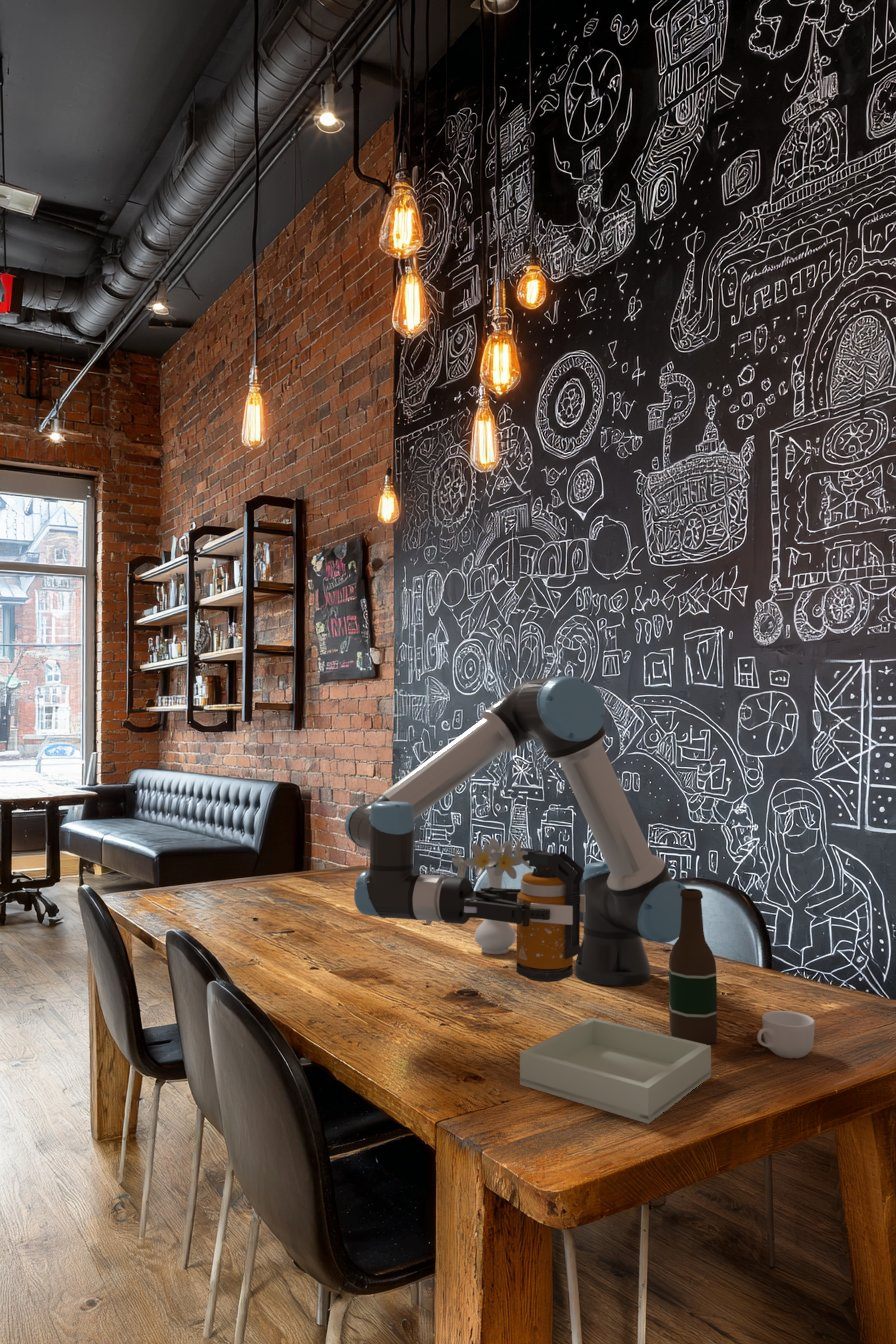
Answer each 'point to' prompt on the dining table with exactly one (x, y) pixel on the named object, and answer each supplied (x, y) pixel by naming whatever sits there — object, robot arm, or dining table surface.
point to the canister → (549, 944)
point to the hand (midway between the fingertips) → (578, 909)
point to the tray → (616, 1068)
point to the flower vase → (490, 932)
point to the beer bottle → (692, 977)
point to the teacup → (787, 1033)
